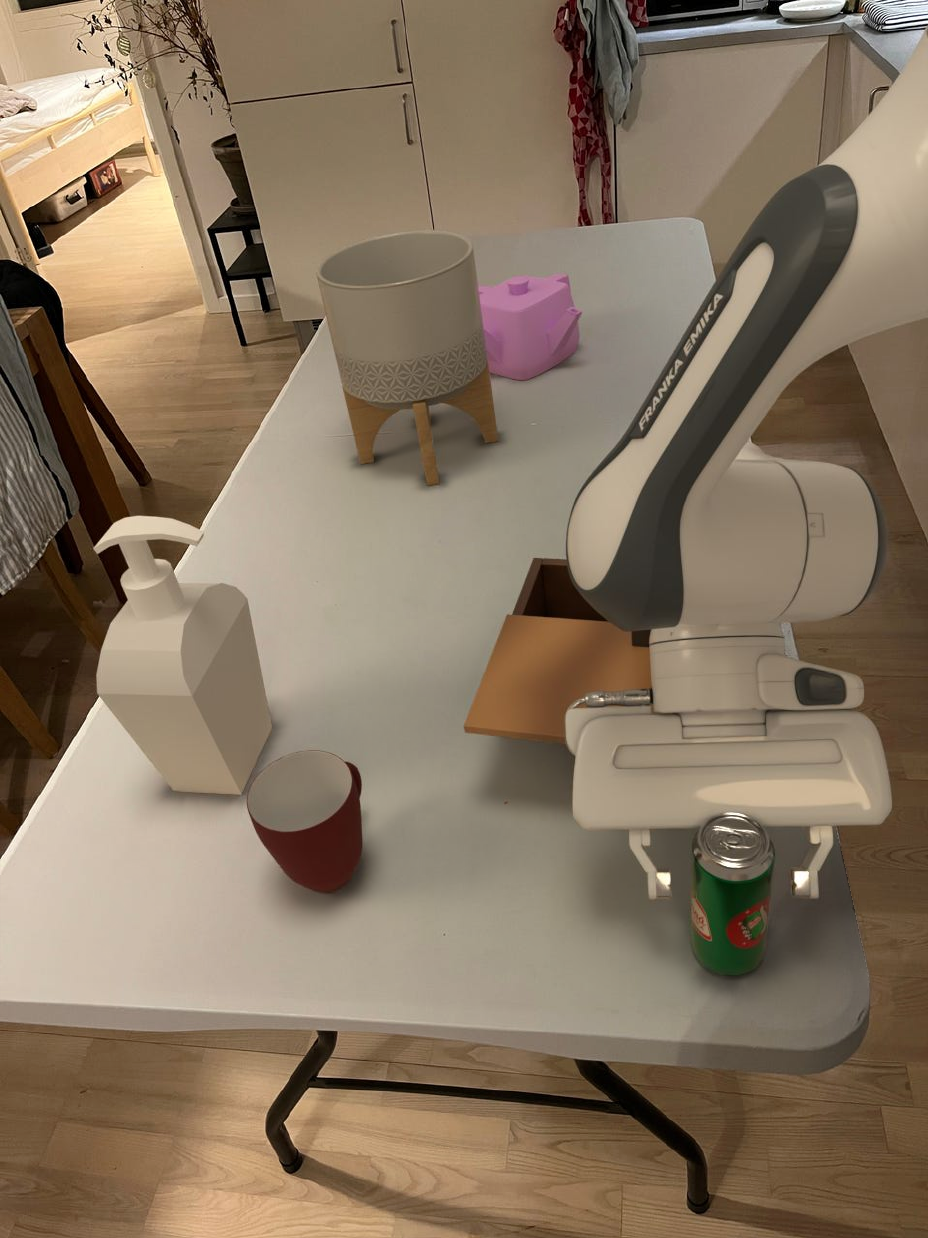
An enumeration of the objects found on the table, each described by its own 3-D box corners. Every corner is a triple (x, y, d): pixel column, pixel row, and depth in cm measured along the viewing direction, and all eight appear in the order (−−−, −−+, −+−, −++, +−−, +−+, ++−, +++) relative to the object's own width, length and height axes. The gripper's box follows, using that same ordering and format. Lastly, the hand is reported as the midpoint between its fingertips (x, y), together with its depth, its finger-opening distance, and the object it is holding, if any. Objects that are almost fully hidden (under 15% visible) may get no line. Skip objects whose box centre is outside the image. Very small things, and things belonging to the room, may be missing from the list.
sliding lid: (690, 634, 81) (691, 579, 78) (671, 755, 71) (670, 699, 68) (507, 621, 86) (500, 568, 83) (464, 732, 76) (454, 678, 72)
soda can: (688, 914, 70) (690, 806, 63) (761, 917, 69) (771, 807, 62) (692, 978, 66) (693, 871, 59) (768, 982, 65) (780, 873, 58)
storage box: (700, 632, 94) (702, 566, 89) (685, 735, 84) (686, 667, 79) (540, 620, 99) (533, 557, 94) (507, 717, 89) (497, 651, 84)
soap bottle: (261, 814, 83) (162, 573, 67) (155, 808, 86) (36, 574, 70) (304, 713, 93) (226, 481, 77) (208, 710, 95) (113, 484, 79)
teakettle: (573, 329, 155) (568, 251, 148) (587, 373, 142) (582, 290, 134) (469, 344, 156) (458, 268, 149) (473, 390, 143) (461, 308, 135)
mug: (314, 804, 84) (285, 722, 77) (401, 815, 81) (379, 731, 75) (263, 907, 76) (227, 825, 70) (358, 923, 73) (329, 840, 67)
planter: (359, 429, 138) (317, 245, 122) (490, 407, 138) (465, 220, 122) (360, 497, 123) (313, 297, 107) (506, 472, 123) (480, 268, 107)
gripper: (560, 690, 63) (569, 907, 62) (889, 677, 60) (908, 906, 59) (565, 693, 69) (574, 890, 68) (864, 681, 66) (880, 888, 65)
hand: (731, 897), depth 63 cm, fingers open, 8 cm apart
